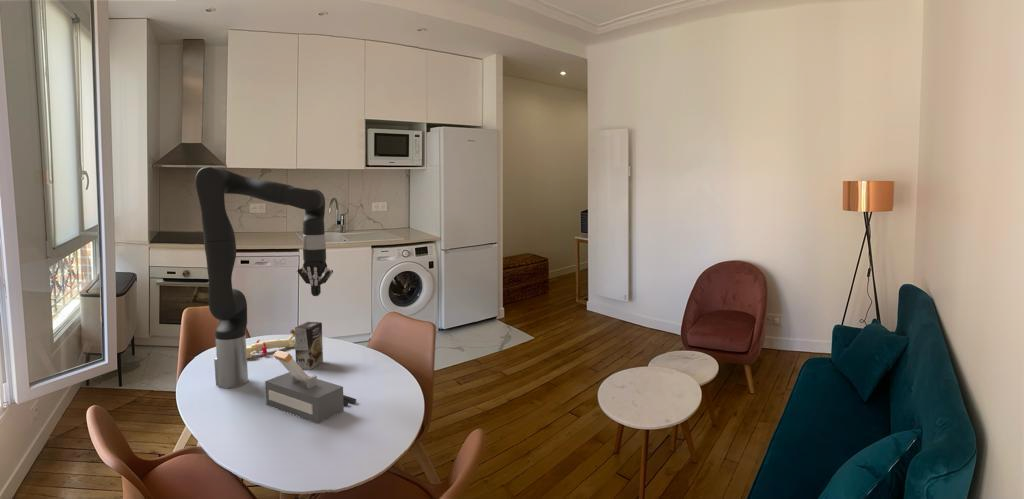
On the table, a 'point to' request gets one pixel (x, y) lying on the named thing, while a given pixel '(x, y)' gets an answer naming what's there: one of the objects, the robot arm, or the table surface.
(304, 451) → the table surface
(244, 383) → the robot arm
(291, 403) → the block
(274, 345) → the cat figure
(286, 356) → the breaker lever
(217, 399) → the table surface
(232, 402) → the table surface
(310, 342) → the coffee box
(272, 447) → the table surface
